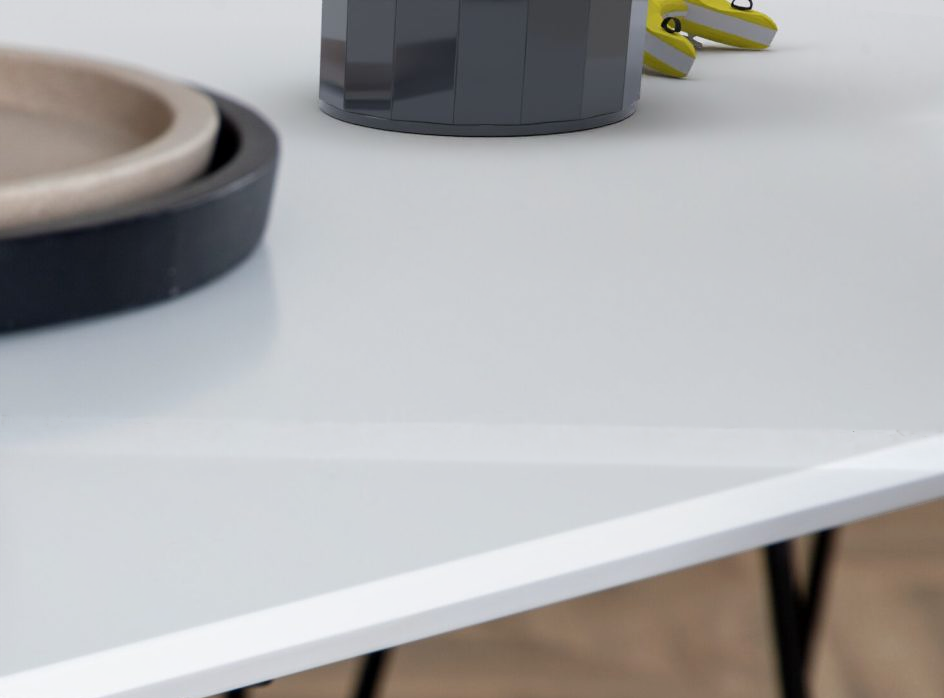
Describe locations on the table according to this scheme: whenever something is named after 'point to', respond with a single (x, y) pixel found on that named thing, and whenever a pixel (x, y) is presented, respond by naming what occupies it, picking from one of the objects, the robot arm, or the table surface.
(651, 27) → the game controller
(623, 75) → the tin
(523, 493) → the table surface
